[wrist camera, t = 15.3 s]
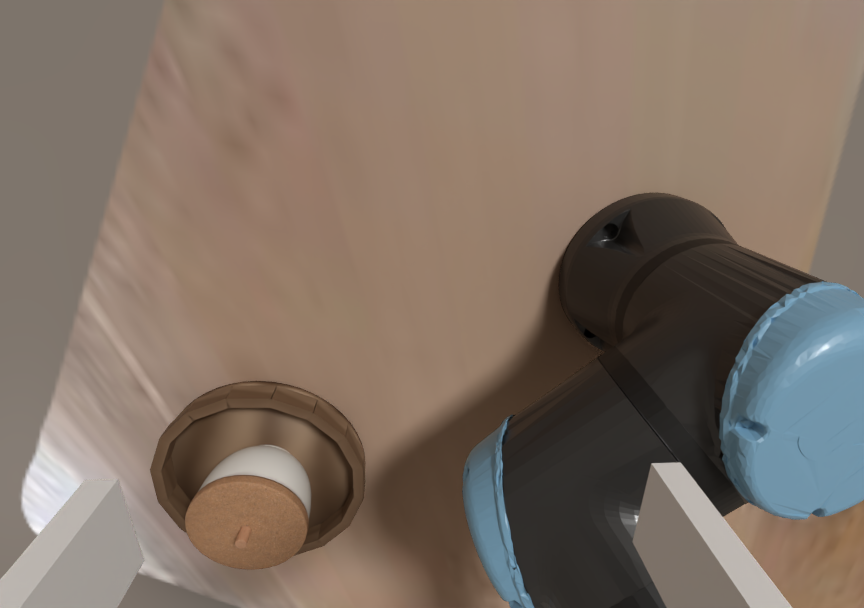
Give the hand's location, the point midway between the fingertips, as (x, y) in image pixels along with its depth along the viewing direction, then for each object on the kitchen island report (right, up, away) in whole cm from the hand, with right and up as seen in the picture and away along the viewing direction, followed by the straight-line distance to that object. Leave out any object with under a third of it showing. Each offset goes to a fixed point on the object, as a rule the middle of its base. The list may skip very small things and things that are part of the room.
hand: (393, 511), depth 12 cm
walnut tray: (-17, -12, +38) cm, 43 cm away
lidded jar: (-16, -12, +38) cm, 43 cm away
